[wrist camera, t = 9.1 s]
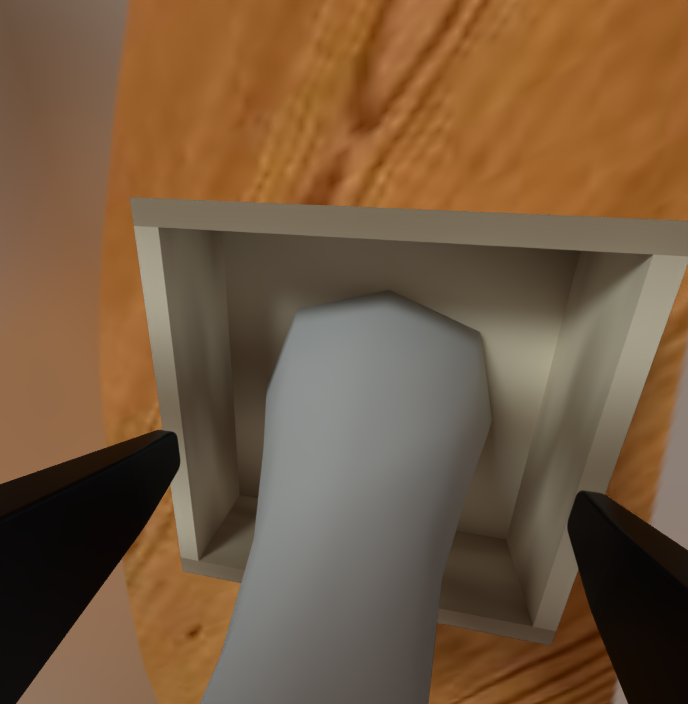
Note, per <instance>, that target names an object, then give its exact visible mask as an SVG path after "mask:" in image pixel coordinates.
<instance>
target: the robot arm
mask: <svg viewBox="0 0 688 704" xmlns="http://www.w3.org/2000/svg"><path fill="white" fill-rule="evenodd" d="M179 467H180V452H179V444H178V437H177V435H176V433H174V432H172V431H165V430H156V431H153V432H150V433H147V434H144V435H141V436H139V437H136V438H133V439H130V440H127V441H124V442H121V443H118V444H115V445H113V446H110V447H107V448H104V449H101V450H98V451H95V452H92V453H89V454H87V455H84V456H81V457H78V458H75V459H72V460H69V461H66V462H63V463H61V464H58V465H55V466H52V467H49V468H46V469H43V470H40V471H37V472H35V473H32V474H29V475H26V476H23V477H20V478H17V479H14V480H11V481H9V482H6V483H3V484H0V704H16V703H17V702H18V700H19V699H20V698H21V696H22V695H23V693H24V692H25V691H26V689H27V688H28V687H29V685H30V684H31V682H32V681H33V680H34V678H35V677H36V675H37V674H38V673H39V671H40V670H41V669H42V667H43V666H44V665H45V663H46V662H47V660H48V659H49V658H50V656H51V655H52V654H53V652H54V651H55V650H56V648H57V647H58V645H59V644H60V643H61V641H62V640H63V638H64V637H65V636H66V634H67V633H68V631H69V630H70V629H71V628H72V626H73V625H74V623H75V622H76V621H77V619H78V618H79V616H80V615H81V614H82V612H83V611H84V610H85V608H86V607H87V606H88V604H89V603H90V601H91V600H92V598H93V597H94V596H95V595H96V593H97V592H98V591H99V589H100V588H101V586H102V585H103V584H104V582H105V581H106V580H107V578H108V577H109V575H110V574H111V573H112V571H113V570H114V569H115V567H116V566H117V564H118V563H119V562H120V560H121V559H122V558H123V556H124V555H125V553H126V552H127V551H128V549H129V548H130V547H131V545H132V544H133V543H134V541H135V540H136V538H137V537H138V536H139V534H140V533H141V531H142V530H143V528H144V527H145V525H146V524H147V522H148V520H149V519H150V517H151V516H152V514H153V512H154V511H155V509H156V507H157V506H158V504H159V502H160V501H161V499H162V497H163V495H164V494H165V492H166V490H167V489H168V487H169V485H170V484H171V482H172V480H173V479H174V477H175V475H176V474H177V472H178V470H179ZM567 530H568V535H569V538H570V542H571V545H572V549H573V552H574V555H575V559H576V562H577V566H578V569H579V572H580V576H581V579H582V583H583V586H584V590H585V593H586V596H587V600H588V603H589V606H590V609H591V612H592V615H593V617H594V620H595V622H596V625H597V628H598V630H599V633H600V635H601V638H602V640H603V643H604V645H605V648H606V650H607V652H608V655H609V657H610V660H611V662H612V665H613V667H614V670H615V672H616V675H617V677H618V680H619V682H620V685H621V687H622V690H623V692H624V695H625V697H626V700H627V702H628V704H688V550H687V549H685V548H684V547H682V546H680V545H679V544H678V543H676V542H675V541H673V540H672V539H670V538H669V537H667V536H666V535H664V534H662V533H661V532H660V531H658V530H657V529H655V528H654V527H652V526H651V525H649V524H648V523H646V522H645V521H643V520H642V519H640V518H639V517H637V516H636V515H634V514H633V513H631V512H630V511H628V510H627V509H625V508H624V507H622V506H621V505H620V504H618V503H617V502H615V501H614V500H612V499H611V498H609V497H608V496H606V495H604V494H603V493H599V492H592V491H585V490H581V491H579V492H578V493H577V494H576V497H575V500H574V503H573V506H572V509H571V512H570V515H569V518H568V523H567Z"/></svg>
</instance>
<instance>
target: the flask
mask: <svg viewBox="0 0 688 704" xmlns="http://www.w3.org/2000/svg"><path fill="white" fill-rule="evenodd" d="M491 422H492V415H491V408H490V400H489V393H488V385H487V378H486V370H485V363H484V355H483V348H482V340H481V333H480V332H479V331H477V330H475V329H473V328H471V327H469V326H466V325H464V324H462V323H460V322H458V321H456V320H453V319H451V318H449V317H447V316H445V315H443V314H440V313H438V312H436V311H434V310H432V309H430V308H428V307H425V306H423V305H421V304H419V303H417V302H415V301H412V300H410V299H408V298H406V297H404V296H402V295H399V294H397V293H395V292H393V291H391V290H386V291H381V292H377V293H372V294H367V295H362V296H358V297H353V298H348V299H343V300H339V301H334V302H329V303H324V304H320V305H315V306H310V307H305V308H301V309H297V310H296V313H295V315H294V318H293V320H292V323H291V326H290V328H289V331H288V333H287V336H286V339H285V341H284V344H283V346H282V349H281V352H280V354H279V357H278V360H277V362H276V365H275V367H274V370H273V373H272V375H271V378H270V380H269V383H268V386H267V395H266V410H265V431H264V449H263V458H262V468H261V477H260V486H259V495H258V505H257V514H256V523H255V532H254V540H253V543H252V547H251V550H250V554H249V557H248V561H247V564H246V568H245V571H244V575H243V579H242V582H241V586H240V589H239V593H238V596H237V600H236V603H235V607H234V611H233V614H232V618H231V621H230V625H229V628H228V632H227V635H226V639H225V642H224V646H223V650H222V653H221V656H220V658H219V660H218V663H217V665H216V667H215V670H214V672H213V674H212V677H211V679H210V681H209V684H208V686H207V689H206V691H205V693H204V696H203V698H202V700H201V703H200V704H428V702H429V693H430V684H431V674H432V665H433V656H434V647H435V638H436V628H437V619H438V610H439V601H440V591H441V582H442V576H443V573H444V570H445V566H446V563H447V559H448V556H449V553H450V549H451V546H452V542H453V539H454V536H455V532H456V529H457V526H458V522H459V519H460V515H461V512H462V509H463V505H464V502H465V498H466V495H467V492H468V488H469V485H470V482H471V479H472V476H473V474H474V471H475V468H476V466H477V463H478V460H479V457H480V455H481V452H482V449H483V446H484V444H485V441H486V438H487V436H488V432H489V429H490V425H491Z"/></svg>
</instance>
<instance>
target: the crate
mask: <svg viewBox="0 0 688 704" xmlns="http://www.w3.org/2000/svg"><path fill="white" fill-rule="evenodd" d="M130 202H131V209H132V216H133V223H134V230H135V237H136V244H137V251H138V258H139V265H140V272H141V279H142V287H143V294H144V301H145V308H146V315H147V322H148V329H149V336H150V343H151V350H152V357H153V364H154V371H155V378H156V385H157V392H158V399H159V406H160V413H161V421H162V428H163V430H165V431H172V432H174V433H176V435H177V437H178V444H179V452H180V467H179V470H178V472H177V474H176V475H175V477H174V479H173V480H172V482H171V491H172V498H173V505H174V512H175V519H176V526H177V533H178V540H179V547H180V555H181V562H182V569H183V571H184V572H189V573H194V574H199V575H203V576H208V577H213V578H218V579H223V580H228V581H233V582H238V583H241V582H242V579H243V575H244V571H245V568H246V564H247V561H248V557H249V554H250V550H251V547H252V543H253V540H254V532H255V523H256V514H257V505H258V495H259V486H260V477H261V468H262V458H263V449H264V431H265V410H266V395H267V386H268V383H269V380H270V378H271V375H272V373H273V370H274V367H275V365H276V362H277V360H278V357H279V354H280V352H281V349H282V346H283V344H284V341H285V339H286V336H287V333H288V331H289V328H290V326H291V323H292V320H293V318H294V315H295V313H296V310H297V309H301V308H305V307H310V306H315V305H320V304H324V303H329V302H334V301H339V300H343V299H348V298H353V297H358V296H362V295H367V294H372V293H377V292H381V291H386V290H391V291H393V292H395V293H397V294H399V295H402V296H404V297H406V298H408V299H410V300H412V301H415V302H417V303H419V304H421V305H423V306H425V307H428V308H430V309H432V310H434V311H436V312H438V313H440V314H443V315H445V316H447V317H449V318H451V319H453V320H456V321H458V322H460V323H462V324H464V325H466V326H469V327H471V328H473V329H475V330H477V331H479V332H480V333H481V340H482V348H483V355H484V363H485V370H486V378H487V385H488V393H489V400H490V408H491V415H492V422H491V425H490V429H489V432H488V436H487V438H486V441H485V444H484V446H483V449H482V452H481V455H480V457H479V460H478V463H477V466H476V468H475V471H474V474H473V476H472V479H471V482H470V485H469V488H468V492H467V495H466V498H465V502H464V505H463V509H462V512H461V515H460V519H459V522H458V526H457V529H456V532H455V536H454V539H453V542H452V546H451V549H450V553H449V556H448V559H447V563H446V566H445V570H444V573H443V576H442V582H441V591H440V601H439V610H438V619H437V623H440V624H445V625H450V626H455V627H460V628H465V629H470V630H475V631H480V632H485V633H490V634H495V635H500V636H505V637H510V638H514V639H519V640H524V641H529V642H534V643H539V644H544V645H549V646H551V644H552V642H553V639H554V636H555V633H556V630H557V628H558V625H559V622H560V619H561V616H562V614H563V611H564V608H565V605H566V602H567V600H568V597H569V594H570V591H571V588H572V586H573V583H574V580H575V577H576V574H577V572H578V566H577V562H576V559H575V555H574V552H573V549H572V545H571V542H570V538H569V535H568V530H567V523H568V518H569V515H570V512H571V509H572V506H573V503H574V500H575V497H576V494H577V493H578V492H579V491H581V490H585V491H592V492H599V493H603V494H604V495H605V493H606V491H607V488H608V485H609V482H610V479H611V477H612V474H613V471H614V468H615V465H616V463H617V460H618V457H619V454H620V451H621V449H622V446H623V443H624V440H625V437H626V435H627V432H628V429H629V426H630V423H631V421H632V418H633V415H634V412H635V409H636V407H637V404H638V401H639V398H640V395H641V393H642V390H643V387H644V384H645V381H646V379H647V376H648V373H649V370H650V367H651V365H652V362H653V359H654V356H655V353H656V351H657V348H658V345H659V342H660V339H661V337H662V334H663V331H664V328H665V325H666V323H667V320H668V317H669V314H670V311H671V309H672V306H673V303H674V300H675V297H676V295H677V292H678V289H679V286H680V283H681V281H682V278H683V275H684V272H685V269H686V267H687V264H688V221H679V220H656V219H632V218H608V217H585V216H561V215H538V214H514V213H490V212H467V211H443V210H420V209H396V208H373V207H349V206H325V205H302V204H278V203H255V202H231V201H207V200H184V199H160V198H137V197H130Z"/></svg>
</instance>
